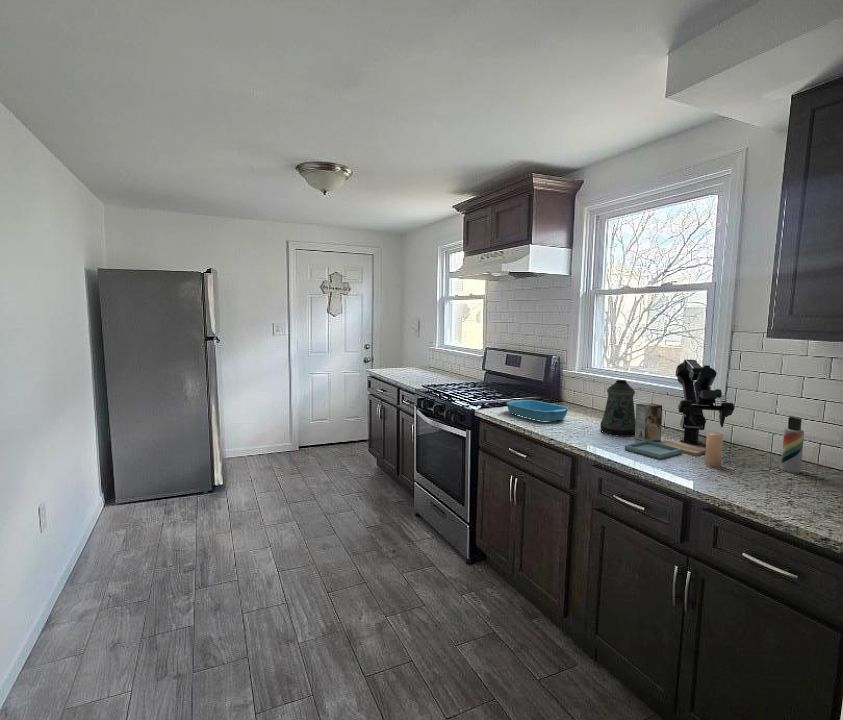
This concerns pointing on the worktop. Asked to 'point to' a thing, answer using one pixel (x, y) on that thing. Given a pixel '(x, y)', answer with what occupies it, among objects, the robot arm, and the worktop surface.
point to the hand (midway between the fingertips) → (708, 425)
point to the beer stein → (619, 410)
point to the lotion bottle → (792, 446)
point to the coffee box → (648, 422)
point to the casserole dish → (537, 410)
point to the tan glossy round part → (713, 449)
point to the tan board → (685, 447)
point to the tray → (653, 449)
